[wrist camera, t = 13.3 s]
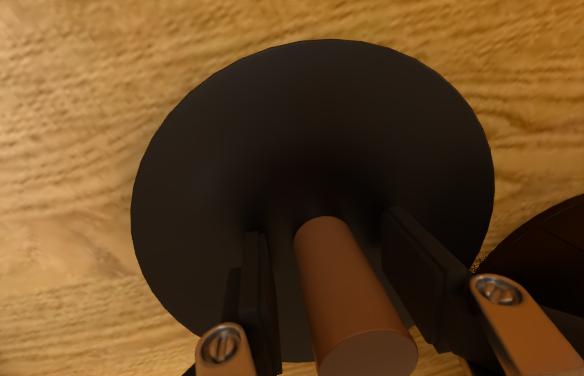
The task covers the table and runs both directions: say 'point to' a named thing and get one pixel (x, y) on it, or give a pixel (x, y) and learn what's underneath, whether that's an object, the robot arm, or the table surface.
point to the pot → (546, 257)
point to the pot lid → (311, 193)
